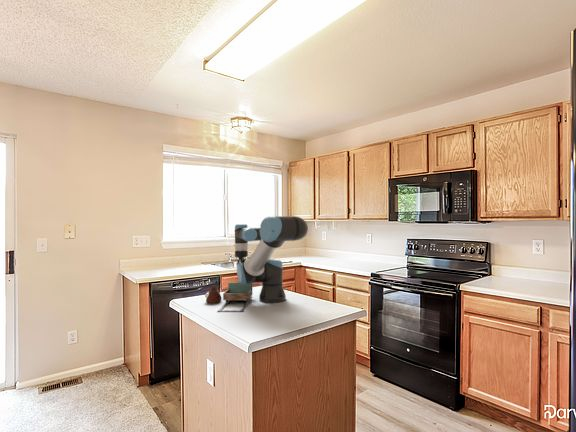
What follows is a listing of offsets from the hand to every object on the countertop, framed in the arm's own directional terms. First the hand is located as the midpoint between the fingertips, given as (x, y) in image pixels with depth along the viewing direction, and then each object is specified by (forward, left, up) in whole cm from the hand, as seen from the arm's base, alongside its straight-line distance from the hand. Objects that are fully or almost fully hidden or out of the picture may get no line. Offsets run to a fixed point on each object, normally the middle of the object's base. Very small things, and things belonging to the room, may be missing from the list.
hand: (241, 289), depth 196 cm
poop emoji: (+14, +11, -5) cm, 18 cm away
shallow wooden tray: (0, +10, -4) cm, 11 cm away
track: (0, +16, -4) cm, 16 cm away
